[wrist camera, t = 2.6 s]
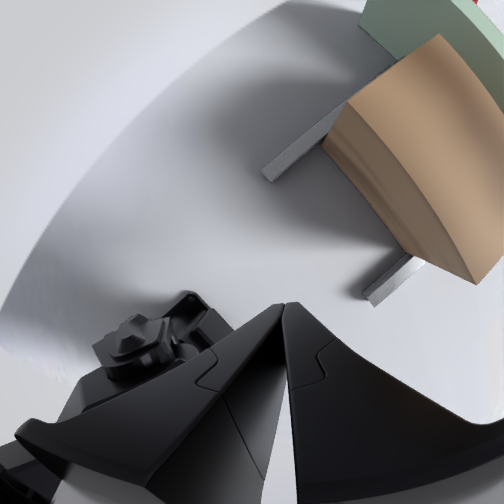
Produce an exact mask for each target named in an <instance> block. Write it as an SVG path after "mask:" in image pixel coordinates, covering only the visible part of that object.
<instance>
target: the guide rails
mask: <svg viewBox="0 0 504 504" xmlns="http://www.w3.org/2000/svg"><path fill="white" fill-rule="evenodd" d="M405 57H406V56H403V57H402V58H400V59H399V60H398V61H396V62H395V63H394V64H392V65H391V66H389V67H388V68H387V69H385V70H384V71H383V72H381V73H380V74H379V75H377V76H376V77H375V78H373V79H372V80H371V81H369V82H368V83H367V84H365V85H364V86H363V87H361V88H360V89H359V90H358V91H356V92H355V93H354V94H352V95H351V96H350V97H349V98H347V99H346V100H345V101H343V102H342V103H341V104H340V105H338V106H337V107H336V108H335V109H333V110H332V111H331V112H330V113H328V114H327V115H326V116H325V117H323V118H322V119H321V120H320V121H318V122H317V123H316V124H315V125H314V126H312V127H311V128H310V129H309V130H307V131H306V132H305V133H304V134H303V135H301V136H300V137H299V138H298V139H297V140H295V141H294V142H293V143H292V144H291V145H290V146H288V147H287V148H286V149H285V150H284V151H282V152H281V153H280V154H279V155H278V156H277V157H275V158H274V159H273V160H272V161H271V162H270V163H269V164H267V165H266V166H265V167H264V168H263V169H262V170H261V172H262V173H263V175H264V176H265V177H266V178H267V179H268V180H269V181H270V182H271V183H272V182H273V181H274V180H276V179H277V178H278V177H279V176H280V175H281V174H282V173H284V172H285V171H286V170H287V169H288V168H289V167H291V166H292V165H293V164H294V163H295V162H296V161H298V160H299V159H300V158H301V157H302V156H304V155H305V154H306V153H307V152H308V151H309V150H311V149H312V148H313V147H314V146H315V145H317V144H318V143H319V142H320V141H321V140H323V139H324V138H325V137H326V136H327V134H328V133H329V131H330V129H331V128H332V126H333V124H334V122H335V121H336V119H337V117H338V116H339V114H340V112H341V110H342V109H343V107H344V105H345V104H346V102H347V101H348V100H349V99H350V98H352V97H353V96H354V95H355V94H357V93H358V92H359V91H361V90H362V89H363V88H364V87H366V86H367V85H368V84H370V83H371V82H372V81H374V80H375V79H376V78H378V77H379V76H380V75H382V74H383V73H384V72H386V71H387V70H388V69H390V68H391V67H392V66H394V65H395V64H396V63H398V62H399V61H401V60H402V59H403V58H405ZM425 262H426V261H425V260H422V259H420V258H418V257H416V256H414V255H411V254H409V253H406V254H405V255H404V256H403V257H402V258H400V259H399V260H398V261H397V262H396V263H395V264H394V265H393V266H392V267H391V268H389V269H388V270H387V271H386V272H385V273H384V274H383V275H381V276H380V277H379V278H378V279H377V280H376V281H375V282H373V283H372V284H371V285H370V286H369V287H367V288H366V289H365V290H364V291H363V294H364V295H365V296H366V297H367V299H368V300H369V301H370V303H371V304H372V305H373V306H374V308H375V307H376V306H377V305H378V304H379V303H380V302H382V301H383V300H384V299H385V298H386V297H388V296H389V295H390V294H391V293H392V292H393V291H394V290H396V289H397V288H398V287H399V286H400V285H401V284H402V283H403V282H405V281H406V280H407V279H408V278H409V277H410V276H411V275H412V274H413V273H414V272H415V271H417V270H418V269H419V268H420V267H421V266H422V265H423V264H424V263H425Z"/></svg>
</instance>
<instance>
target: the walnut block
mask: <svg viewBox="0 0 504 504" xmlns="http://www.w3.org/2000/svg"><path fill="white" fill-rule="evenodd" d="M321 147H322V148H323V149H324V150H325V152H326V153H327V154H328V155H329V156H330V157H331V158H332V159H333V161H334V162H335V163H336V164H337V165H338V166H339V167H340V169H341V170H342V171H343V172H344V173H345V175H346V176H347V177H348V178H349V179H350V180H351V182H352V183H353V184H354V185H355V187H356V188H357V189H358V190H359V191H360V193H361V194H362V195H363V196H364V198H365V199H366V200H367V202H368V203H369V204H370V205H371V207H372V208H373V209H374V211H375V212H376V213H377V214H378V216H379V217H380V218H381V220H382V221H383V222H384V224H385V225H386V226H387V228H388V229H389V231H390V232H391V233H392V235H393V236H394V237H395V239H396V240H397V242H398V243H399V244H400V246H401V247H402V249H403V250H404V251H405V252H407V253H409V254H411V255H414V256H416V257H418V258H420V259H422V260H425V261H427V262H429V263H431V264H433V265H435V266H438V267H440V268H442V269H444V270H446V271H448V272H450V273H452V274H454V275H456V276H459V277H461V278H463V279H465V280H467V281H469V282H471V283H473V284H475V285H478V284H479V282H480V281H481V280H482V279H483V278H484V277H485V276H486V275H487V274H488V272H489V271H490V270H491V269H492V268H493V267H494V266H495V264H496V263H497V262H498V261H499V260H500V258H501V257H502V256H503V255H504V115H503V113H502V112H501V110H500V108H499V107H498V105H497V104H496V102H495V101H494V100H493V98H492V97H491V95H490V94H489V92H488V91H487V90H486V88H485V87H484V86H483V84H482V83H481V82H480V80H479V79H478V78H477V76H476V75H475V74H474V72H473V71H472V70H471V69H470V67H469V66H468V65H467V64H466V63H465V61H464V60H463V59H462V58H461V57H460V56H459V54H458V53H457V52H456V51H455V50H454V49H453V48H452V47H451V45H450V44H449V43H448V42H447V41H446V40H445V39H444V38H443V37H442V36H441V35H440V34H438V35H436V36H435V37H433V38H432V39H430V40H429V41H427V42H426V43H424V44H423V45H422V46H420V47H419V48H417V49H416V50H415V51H413V52H412V53H410V54H409V55H408V56H406V57H405V58H403V59H402V60H401V61H399V62H398V63H396V64H395V65H394V66H392V67H391V68H390V69H388V70H387V71H386V72H384V73H383V74H382V75H380V76H379V77H378V78H376V79H375V80H374V81H372V82H371V83H370V84H368V85H367V86H366V87H364V88H363V89H362V90H361V91H359V92H358V93H357V94H355V95H354V96H353V97H352V98H350V99H349V100H348V101H347V102H346V104H345V105H344V107H343V109H342V110H341V112H340V114H339V116H338V117H337V119H336V121H335V122H334V124H333V126H332V128H331V129H330V131H329V133H328V134H327V136H326V138H325V140H324V141H323V143H322V145H321Z"/></svg>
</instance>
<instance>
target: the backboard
mask: <svg viewBox="0 0 504 504" xmlns="http://www.w3.org/2000/svg"><path fill="white" fill-rule="evenodd" d="M358 25H359V26H360V27H361V28H362V29H363V30H365V31H366V32H367V33H368V34H369V35H370V36H371V37H373V38H374V39H375V40H376V41H377V42H378V43H379V44H380V45H381V46H382V47H383V48H384V49H385V50H386V51H387V52H389V53H390V54H391V55H392V56H393V57H394V58H395V59H396V60H397V61H398V60H399V59H400V58H402V57H403V56H408V55H409V54H410V53H412V52H413V51H415V50H416V49H417V48H419V47H420V46H422V45H423V44H424V43H426V42H427V41H429V40H430V39H432V38H433V37H435V36H436V35H438V34H440V35H441V36H442V37H443V38H444V39H445V40H446V41H447V42H448V43H449V44H450V45H451V47H452V48H453V49H454V50H455V51H456V52H457V53H458V54H459V56H460V57H461V58H462V59H463V60H464V61H465V63H466V64H467V65H468V66H469V67H470V69H471V70H472V71H473V72H474V74H475V75H476V76H477V78H478V79H479V80H480V82H481V83H482V84H483V86H484V87H485V88H486V90H487V91H488V92H489V94H490V95H491V97H492V98H493V100H494V101H495V102H496V104H497V105H498V107H499V108H500V110H501V112H502V113H503V115H504V35H503V34H502V33H501V31H500V30H499V29H498V28H497V27H496V25H495V24H494V23H493V22H492V21H491V20H490V19H489V18H488V16H487V15H486V14H485V13H484V12H483V11H482V10H481V9H480V8H479V7H478V6H477V5H476V4H475V3H474V2H473V1H472V0H367V2H366V5H365V7H364V10H363V13H362V15H361V18H360V21H359V23H358Z"/></svg>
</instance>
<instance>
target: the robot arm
mask: <svg viewBox="0 0 504 504" xmlns="http://www.w3.org/2000/svg"><path fill="white" fill-rule="evenodd" d="M190 297H194V298H195V301H192V300H191V299H190ZM92 348H93V350H94V352H95V354H96V356H97V357H98V359H99V361H100V363H101V365H102V366H101V367H100V368H98V369H96V370H94V371H92V372H90V373H89V374H87V375H85V376H83V377H82V378H80V380H79V381H78V383H77V385H76V386H75V388H74V390H73V392H72V394H71V396H70V398H69V399H68V401H67V403H66V405H65V407H64V409H63V411H62V413H61V415H60V416H59V418H58V420H57V422H56V423H46V422H43V421H41V420H38V419H35V418H31V419H29V420H27V421H26V422H25V423H23V424H22V425H21V426H20V427H19V428H18V430H17V431H16V432H15V434H14V436H15V438H16V439H17V440H15V441H13V442H10V443H8V444H5V445H3V446H1V447H0V504H261V496H262V490H263V485H264V480H265V477H266V473H267V468H268V465H269V461H270V456H271V452H272V447H273V443H274V438H275V434H276V429H277V425H278V420H279V415H280V410H281V405H282V400H283V395H284V390H285V385H286V379H287V382H288V393H289V404H290V415H291V427H292V438H293V451H294V463H295V476H296V490H297V504H504V418H503V419H500V420H498V421H496V422H493V423H490V424H475V423H471V422H469V421H466V420H465V419H463V418H461V417H460V416H458V415H456V414H454V413H453V412H451V411H449V410H448V409H446V408H444V407H443V406H441V405H439V404H438V403H436V402H434V401H432V400H431V399H429V398H428V397H426V396H424V395H423V394H421V393H419V392H418V391H416V390H414V389H413V388H411V387H409V386H408V385H406V384H404V383H403V382H401V381H400V380H398V379H396V378H395V377H393V376H392V375H390V374H388V373H387V372H385V371H383V370H382V369H380V368H379V367H377V366H375V365H374V364H372V363H371V362H369V361H368V360H366V359H364V358H363V357H361V356H360V355H359V354H357V353H356V352H354V351H353V350H352V349H350V348H349V347H348V346H347V345H346V344H344V343H343V342H342V341H341V340H340V339H339V338H337V337H336V336H335V335H334V334H333V333H332V332H331V331H329V330H328V329H327V328H326V327H325V326H324V325H323V324H322V323H321V322H320V321H319V320H317V319H316V318H315V317H314V316H313V315H312V314H311V313H310V312H309V311H308V310H307V309H305V308H304V307H303V306H302V305H301V304H300V303H299V302H290V303H286V305H285V304H284V303H281V304H273V305H271V306H270V307H268V308H267V309H266V310H264V311H263V312H261V313H260V314H258V315H257V316H256V317H254V318H253V319H251V320H250V321H248V322H247V323H245V324H244V325H243V326H241V327H240V328H238V329H237V330H235V331H234V330H233V329H232V328H231V327H230V326H229V324H228V323H227V322H226V321H225V320H224V319H223V318H222V317H221V316H220V315H219V314H218V313H217V311H216V310H215V309H213V308H210V307H209V306H208V305H207V304H206V303H205V302H204V301H203V300H202V299H201V297H200V296H199V295H198V294H197V293H195V292H191V293H189V294H188V295H187V296H186V297H184V298H183V299H182V300H181V301H180V302H179V303H178V304H176V305H175V306H174V307H173V308H172V309H171V310H170V311H169V312H168V313H166V314H165V315H164V316H163V317H162V318H161V319H156V320H151V319H147V318H146V317H144V316H142V315H140V314H137V315H134V316H131V317H130V318H129V319H127V320H126V321H125V322H123V323H122V324H121V325H120V326H119V328H118V330H117V331H114V332H112V333H109V334H107V335H105V336H104V339H102V340H101V341H99V342H97V343H96V344H94V345H93V346H92Z"/></svg>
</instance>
